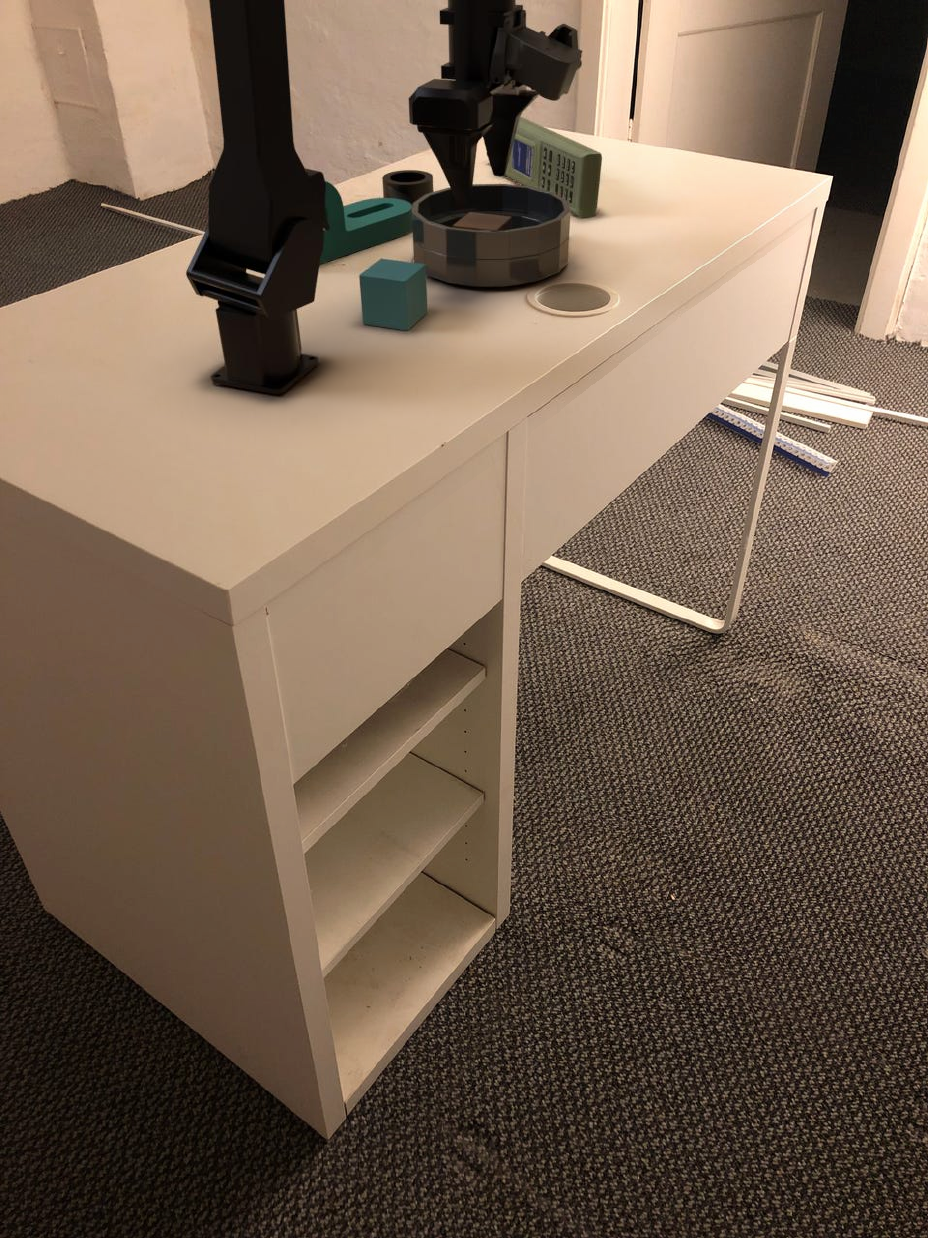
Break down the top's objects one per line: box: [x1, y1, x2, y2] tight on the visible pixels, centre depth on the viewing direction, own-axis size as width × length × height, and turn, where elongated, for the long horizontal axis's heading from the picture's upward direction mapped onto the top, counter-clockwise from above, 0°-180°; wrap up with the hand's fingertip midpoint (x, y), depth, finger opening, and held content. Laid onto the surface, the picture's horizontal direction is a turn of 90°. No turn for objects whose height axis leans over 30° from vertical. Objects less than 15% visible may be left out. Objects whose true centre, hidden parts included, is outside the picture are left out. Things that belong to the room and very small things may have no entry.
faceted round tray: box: [411, 183, 572, 288], centre depth 98 cm, size 15×15×6 cm
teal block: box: [358, 258, 429, 332], centre depth 88 cm, size 4×4×4 cm
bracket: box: [319, 180, 413, 265], centre depth 103 cm, size 18×7×8 cm, turn 136°
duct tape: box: [381, 169, 434, 205], centre depth 114 cm, size 8×10×3 cm
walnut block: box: [453, 212, 512, 230], centre depth 96 cm, size 4×4×4 cm
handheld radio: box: [486, 116, 603, 219], centre depth 117 cm, size 7×3×25 cm
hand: (482, 189), depth 93 cm, fingers open, 9 cm apart
